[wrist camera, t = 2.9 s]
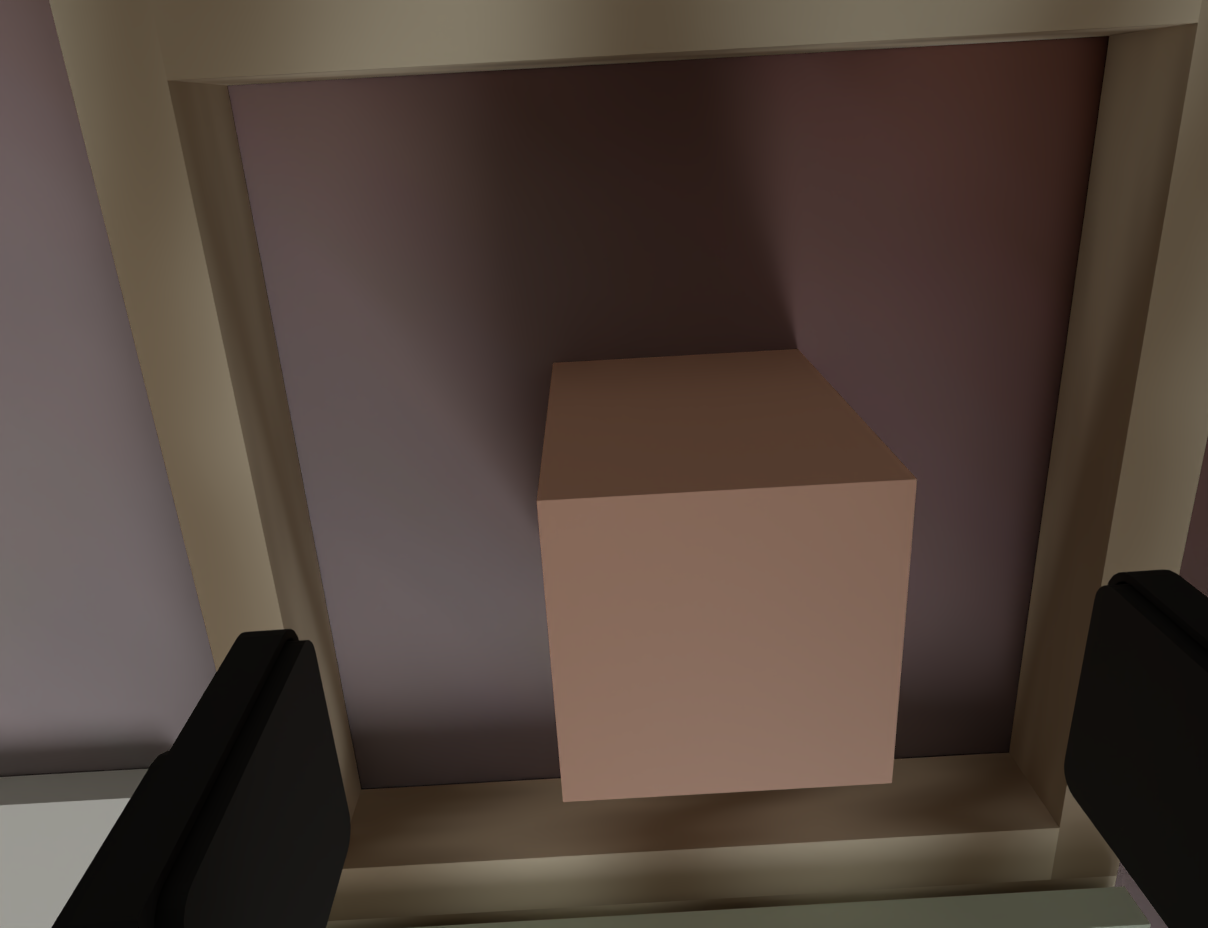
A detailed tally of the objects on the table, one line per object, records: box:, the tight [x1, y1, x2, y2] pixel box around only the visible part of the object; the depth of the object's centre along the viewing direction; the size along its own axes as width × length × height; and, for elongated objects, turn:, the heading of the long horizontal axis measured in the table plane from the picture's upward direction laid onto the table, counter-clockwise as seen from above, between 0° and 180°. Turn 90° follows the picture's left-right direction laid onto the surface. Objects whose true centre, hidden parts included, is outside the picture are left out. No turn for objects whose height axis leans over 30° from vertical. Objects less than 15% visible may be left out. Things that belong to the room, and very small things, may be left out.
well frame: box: [49, 0, 1208, 928], centre depth 22 cm, size 19×39×2 cm, turn 3°
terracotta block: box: [537, 349, 917, 802], centre depth 16 cm, size 5×5×7 cm
